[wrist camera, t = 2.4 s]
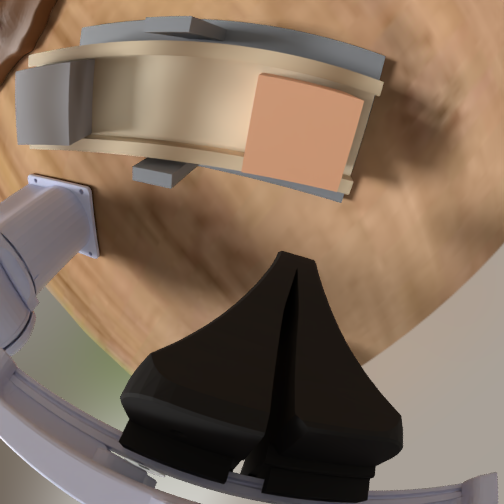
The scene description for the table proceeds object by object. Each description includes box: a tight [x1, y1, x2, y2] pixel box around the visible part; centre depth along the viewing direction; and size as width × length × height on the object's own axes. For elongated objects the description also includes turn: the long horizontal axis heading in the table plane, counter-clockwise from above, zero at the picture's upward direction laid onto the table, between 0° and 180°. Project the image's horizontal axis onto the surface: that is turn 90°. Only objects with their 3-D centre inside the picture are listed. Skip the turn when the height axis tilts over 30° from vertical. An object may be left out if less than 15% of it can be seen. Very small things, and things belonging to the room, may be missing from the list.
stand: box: [80, 16, 385, 203], centre depth 15 cm, size 21×10×6 cm, turn 80°
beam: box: [15, 40, 384, 195], centre depth 13 cm, size 20×6×5 cm, turn 80°
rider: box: [241, 73, 364, 192], centre depth 12 cm, size 4×4×4 cm
